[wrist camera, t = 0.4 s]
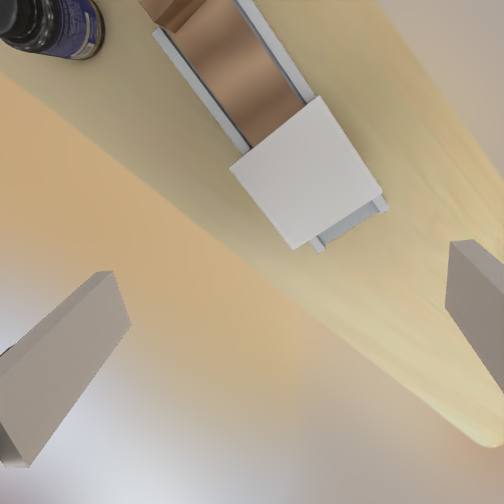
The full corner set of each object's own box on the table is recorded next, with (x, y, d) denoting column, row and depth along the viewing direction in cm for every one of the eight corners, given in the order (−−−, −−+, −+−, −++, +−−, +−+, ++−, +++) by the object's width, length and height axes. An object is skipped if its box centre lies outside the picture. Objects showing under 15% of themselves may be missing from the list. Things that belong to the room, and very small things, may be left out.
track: (160, 38, 34) (110, 17, 25) (228, -34, 31) (198, -88, 22) (317, 245, 41) (321, 287, 32) (385, 202, 38) (412, 235, 29)
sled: (162, 20, 32) (129, 1, 26) (210, -32, 30) (186, -66, 24) (299, 205, 38) (299, 226, 31) (348, 171, 36) (358, 187, 29)
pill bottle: (102, -11, 33) (17, -57, 23) (109, 62, 36) (35, 48, 26) (41, -12, 34) (-67, -59, 24) (53, 59, 36) (-41, 45, 26)
